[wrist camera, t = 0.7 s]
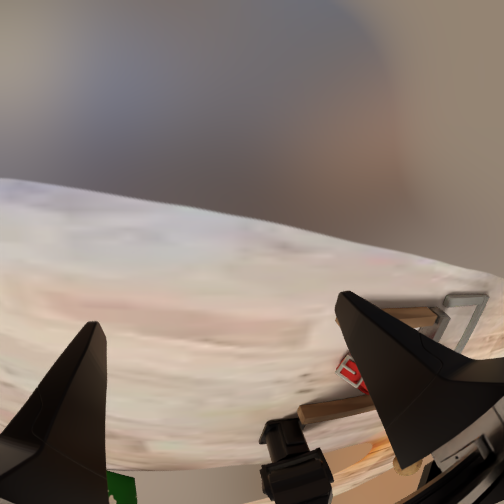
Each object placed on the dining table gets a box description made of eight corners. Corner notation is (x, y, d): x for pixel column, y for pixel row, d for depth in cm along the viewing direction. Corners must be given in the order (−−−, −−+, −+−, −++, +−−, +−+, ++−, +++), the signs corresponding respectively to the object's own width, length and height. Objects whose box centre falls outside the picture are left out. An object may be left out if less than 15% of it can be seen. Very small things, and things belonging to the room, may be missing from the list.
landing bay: (436, 384, 43) (439, 387, 42) (390, 399, 40) (392, 402, 39) (485, 294, 36) (489, 296, 35) (446, 295, 32) (451, 298, 31)
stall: (377, 397, 38) (384, 407, 36) (296, 411, 35) (301, 424, 32) (426, 306, 32) (437, 316, 30) (339, 309, 29) (349, 322, 26)
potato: (410, 448, 59) (423, 469, 50) (386, 462, 58) (398, 484, 49) (415, 438, 55) (430, 461, 46) (389, 453, 55) (403, 477, 46)
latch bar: (389, 395, 38) (397, 407, 36) (380, 397, 38) (388, 409, 35) (437, 307, 32) (450, 317, 30) (429, 307, 32) (443, 318, 29)
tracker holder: (411, 328, 32) (406, 385, 33) (389, 320, 36) (387, 374, 37) (345, 369, 28) (345, 427, 29) (323, 355, 32) (326, 411, 33)
